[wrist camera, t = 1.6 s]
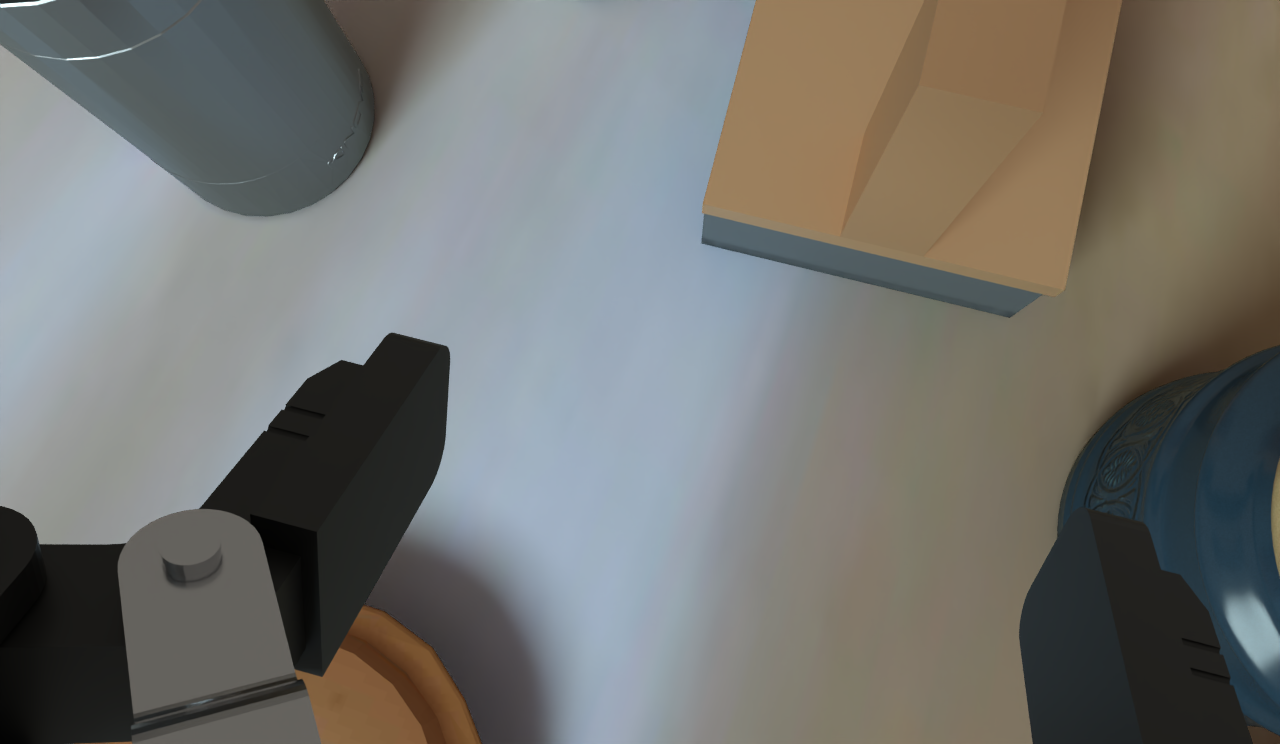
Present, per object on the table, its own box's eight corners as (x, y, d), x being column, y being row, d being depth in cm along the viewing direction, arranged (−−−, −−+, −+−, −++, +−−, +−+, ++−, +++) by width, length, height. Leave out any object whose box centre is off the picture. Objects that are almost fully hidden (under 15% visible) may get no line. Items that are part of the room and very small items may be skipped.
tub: (701, 243, 43) (705, 203, 38) (788, -94, 46) (803, -172, 41) (1009, 317, 42) (1054, 286, 37) (1081, -31, 45) (1131, -103, 40)
